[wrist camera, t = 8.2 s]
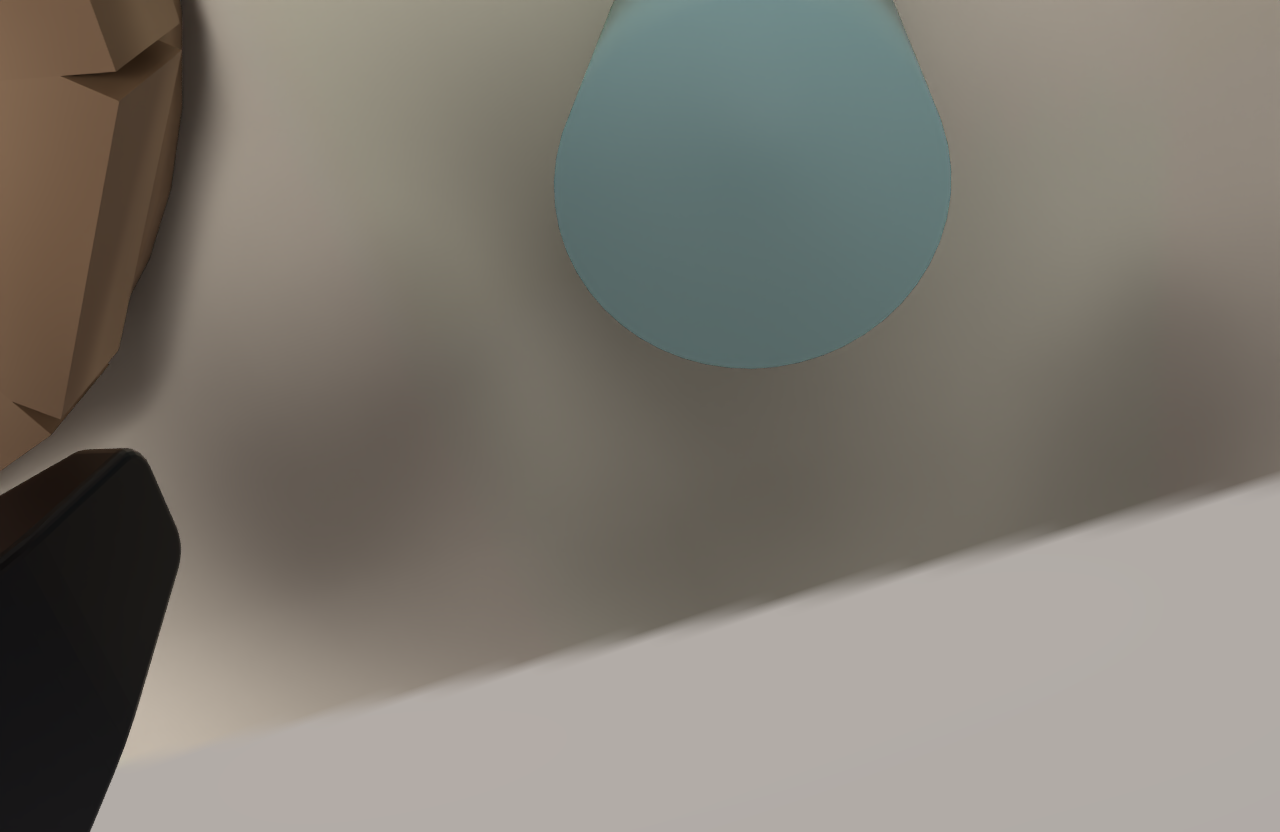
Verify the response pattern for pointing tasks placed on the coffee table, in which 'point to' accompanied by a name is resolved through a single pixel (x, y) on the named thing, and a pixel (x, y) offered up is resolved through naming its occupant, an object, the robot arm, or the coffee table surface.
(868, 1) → the bead teal
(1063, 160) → the coffee table surface
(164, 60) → the ring tray
